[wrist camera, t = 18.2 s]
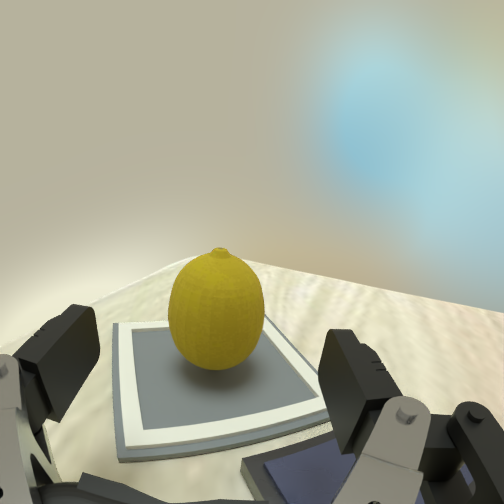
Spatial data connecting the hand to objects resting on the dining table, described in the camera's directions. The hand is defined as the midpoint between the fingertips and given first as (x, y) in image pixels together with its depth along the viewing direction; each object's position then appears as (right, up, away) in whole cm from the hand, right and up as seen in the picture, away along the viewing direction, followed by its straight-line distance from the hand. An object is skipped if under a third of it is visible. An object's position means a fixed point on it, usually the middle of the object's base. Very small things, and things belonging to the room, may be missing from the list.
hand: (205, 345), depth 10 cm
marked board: (-1, -5, +9) cm, 10 cm away
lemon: (-1, -5, +9) cm, 10 cm away
